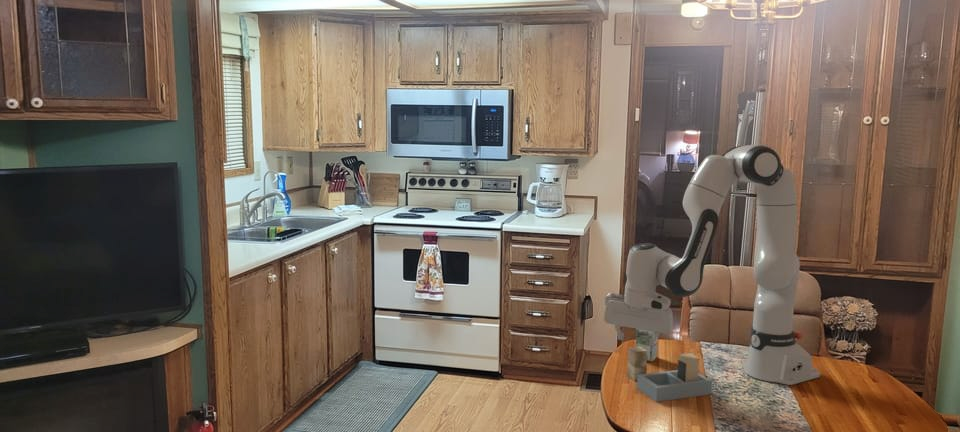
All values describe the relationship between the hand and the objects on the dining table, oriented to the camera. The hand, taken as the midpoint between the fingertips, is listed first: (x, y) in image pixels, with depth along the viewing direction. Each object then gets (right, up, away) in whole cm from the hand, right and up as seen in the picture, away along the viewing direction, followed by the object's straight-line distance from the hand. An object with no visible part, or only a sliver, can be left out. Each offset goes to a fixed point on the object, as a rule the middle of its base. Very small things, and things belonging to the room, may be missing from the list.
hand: (636, 342), depth 204 cm
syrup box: (+7, -9, +18) cm, 22 cm away
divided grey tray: (+9, -13, -8) cm, 17 cm away
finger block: (0, -11, +1) cm, 11 cm away
